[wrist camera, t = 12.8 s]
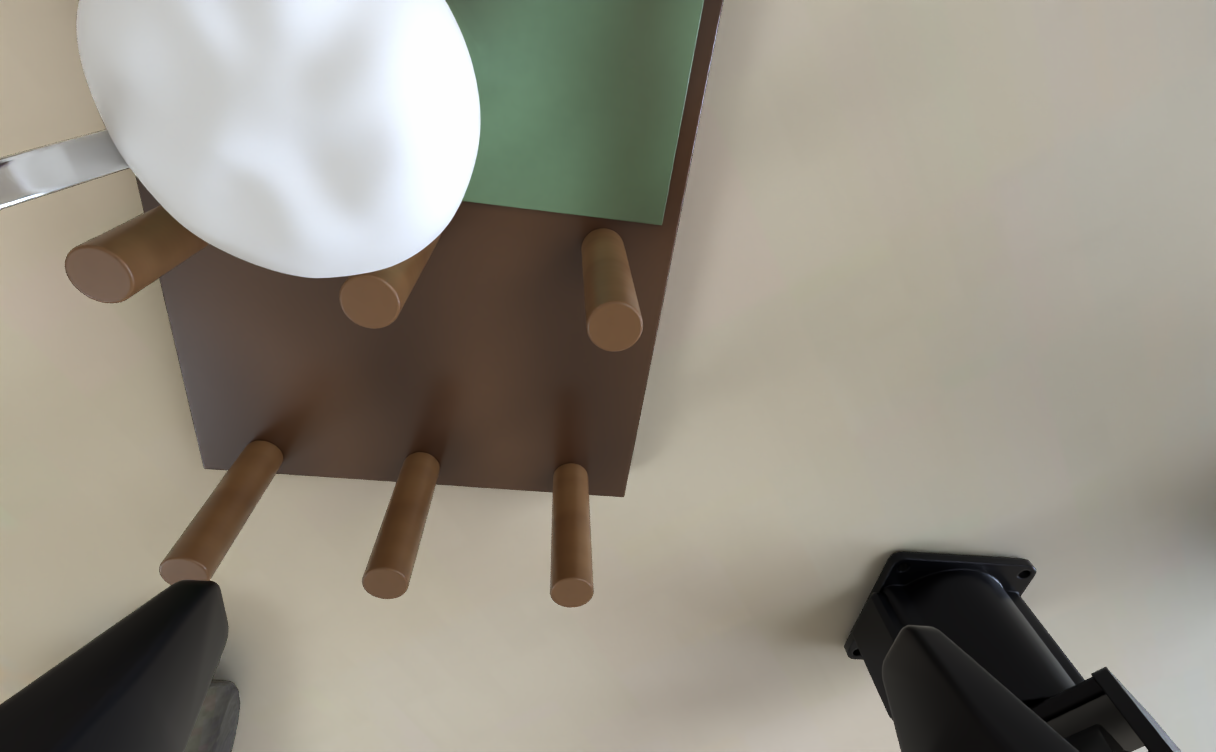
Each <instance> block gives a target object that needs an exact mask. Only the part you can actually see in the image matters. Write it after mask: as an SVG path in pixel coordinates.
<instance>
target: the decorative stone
mask: <svg viewBox="0 0 1216 752" xmlns="http://www.w3.org/2000/svg"><path fill="white" fill-rule="evenodd" d="M239 710H240V700H239V691H238V689H237V687H236V686H235V684H234V683H233V682H230V681H220V680H216V681H211V683H210V686H209V689H208V691H207V694H206V696H205V699H204V701H203V704H202V707H201V709H200V712H199V714H198V717H197V719H196V722H195V725H194V727H193V730H192V732H191V735H190V737H189V740H188V742H187V745H186V748H185V750H184V752H231V751H232V747H233V743H234V739H235V735H236V729H237V724H238V717H239Z"/></svg>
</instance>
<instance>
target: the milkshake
mask: <svg viewBox="0 0 1216 752" xmlns="http://www.w3.org/2000/svg"><path fill="white" fill-rule="evenodd" d="M76 30H77V42H78V49H79V54H80V59H81V63H82V67H83V71H84V74H85V77H86V80H87V83H88V86H89V89H90V92H91V94H92V97H93V100H94V102H95V104H96V107H97V109H98V111H99V114H100V116H101V118H102V120H103V123H104V125H105V127H106V129H105V130H102V131H98V132H94V133H90V134H86V135H83V136H79V137H75V138H71V139H68V140H64V141H60V142H56V143H53V144H49V145H45V146H41V147H38V148H34V149H30V150H26V151H23V152H19V153H15V154H11V155H7V156H4V157H0V210H2V209H5V208H8V207H11V206H14V205H17V204H20V203H23V202H27V201H30V200H33V199H36V198H39V197H42V196H45V195H48V194H51V193H54V192H57V191H61V190H64V189H67V188H70V187H73V186H76V185H79V184H82V183H85V182H88V181H91V180H94V179H98V178H101V177H104V176H107V175H110V174H113V173H116V172H119V171H122V170H125V169H128V168H131V170H132V171H133V172H134V174H135V175H136V176H137V178H138V179H139V180H140V181H141V183H142V184H143V185H144V186H145V187H146V189H147V190H148V191H149V192H150V193H151V194H152V196H153V197H154V198H155V199H156V200H157V201H158V202H159V203H160V204H161V205H162V207H163V208H164V209H165V210H166V211H167V212H168V213H169V214H170V215H171V216H172V217H173V218H175V219H176V220H177V221H178V222H179V223H180V224H181V225H183V226H184V227H185V228H186V229H188V230H189V231H190V232H192V233H193V234H195V235H196V236H198V237H199V238H201V239H202V240H204V241H206V242H207V243H209V244H211V245H213V246H215V247H217V248H218V249H220V250H223V251H225V252H227V253H229V254H231V255H233V256H235V257H238V258H240V259H242V260H245V261H247V262H250V263H252V264H255V265H258V266H261V267H264V268H267V269H270V270H273V271H277V272H281V273H285V274H289V275H294V276H300V277H307V278H331V277H342V276H351V275H357V274H363V273H369V272H374V271H378V270H382V269H385V268H388V267H391V266H394V265H396V264H398V263H401V262H403V261H405V260H407V259H408V258H410V257H412V256H413V255H415V254H417V253H418V252H420V251H421V250H422V249H424V248H425V247H426V246H428V245H429V244H430V243H431V242H432V241H433V240H435V239H436V238H437V237H438V236H439V235H440V234H441V232H442V231H443V230H444V229H445V228H446V227H447V225H448V224H449V223H450V221H451V220H452V218H453V216H454V215H455V213H456V211H457V209H458V208H459V206H460V204H461V202H462V199H463V197H464V194H465V192H466V189H467V187H468V184H469V181H470V178H471V175H472V172H473V169H474V165H475V161H476V157H477V152H478V146H479V138H480V127H481V118H482V115H483V111H484V107H485V103H486V100H487V96H488V92H489V39H488V38H487V36H486V35H485V33H484V31H483V30H482V28H481V26H480V25H479V23H478V22H477V20H476V18H475V17H474V15H473V13H472V12H471V10H470V8H469V7H468V5H467V3H466V2H465V0H79V4H78V10H77V20H76Z"/></svg>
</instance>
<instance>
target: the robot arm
mask: <svg viewBox="0 0 1216 752" xmlns="http://www.w3.org/2000/svg"><path fill="white" fill-rule="evenodd" d="M1035 574H1036V569H1035V567H1034V566H1033V565H1032V564H1031V563H1030V561H1028V560H1026V559H1018V558H1001V557H984V556H968V555H951V554H935V553H918V552H897V553H895V554H893V555H891V556H890V557H889V559H888V560H887V562H886V564H885V566H884V568H883V570H882V572H881V574H880V576H879V578H878V580H877V582H876V584H875V586H874V588H873V589H872V591H871V593H870V595H869V597H868V599H867V601H866V603H865V605H864V607H863V609H862V611H861V613H860V615H859V617H858V619H857V621H856V623H855V625H854V627H853V629H852V631H851V633H850V635H849V636H848V638H847V640H846V642H845V645H844V648H845V650H846V653H847V655H848V657H849V658H851V659H863V660H864V662H865V664H866V666H867V669H868V671H869V673H870V675H871V677H872V680H873V682H874V684H875V686H876V688H877V691H878V693H879V695H880V697H881V699H882V702H883V704H884V706H885V708H886V710H887V712H888V715H889V716H890V718H891V719H892V720H893V722H894V725H895V729H896V733H897V737H898V741H899V745H900V749H901V752H1132V751H1134V750H1136V749H1138V748H1141V747H1143V746H1145V747H1146V748H1147V749H1148V752H1181V750H1180V749H1179V748H1178V747H1177V746H1176V744H1175V743H1174V742H1173V741H1172V740H1171V739H1170V737H1169V736H1168V735H1167V734H1166V733H1165V731H1164V730H1163V729H1162V728H1161V727H1160V725H1159V724H1158V723H1157V722H1156V721H1155V719H1154V718H1153V717H1152V716H1151V715H1150V714H1149V713H1148V712H1147V711H1146V709H1145V708H1144V707H1143V706H1142V705H1141V704H1140V703H1139V702H1138V701H1137V700H1136V699H1135V698H1134V697H1133V695H1132V694H1131V693H1130V692H1129V691H1128V690H1127V689H1126V688H1125V687H1124V686H1123V685H1122V684H1121V683H1120V681H1119V680H1118V679H1117V678H1116V677H1115V676H1114V675H1113V674H1112V673H1111V672H1110V671H1109V670H1108V669H1107V667H1104V668H1102V669H1100V670H1098V671H1096V672H1094V673H1092V674H1091V675H1092V676H1093V677H1091V678H1089V679H1087V680H1084V678H1083V677H1082V676H1081V675H1080V673H1079V672H1078V671H1077V669H1076V668H1075V667H1074V665H1073V664H1072V663H1071V662H1070V660H1069V659H1068V658H1067V656H1066V655H1065V654H1064V653H1063V651H1062V650H1061V649H1060V647H1059V646H1058V645H1057V643H1056V642H1055V641H1054V640H1053V638H1052V637H1051V636H1050V634H1049V633H1048V632H1047V630H1046V629H1045V628H1044V627H1043V625H1042V624H1041V623H1040V621H1039V620H1038V619H1037V617H1036V616H1035V615H1034V614H1033V612H1032V611H1031V610H1030V608H1029V607H1028V606H1027V604H1026V603H1025V602H1024V601H1023V599H1022V598H1021V597H1020V596H1021V595H1022V593H1023V592H1024V590H1025V589H1026V587H1027V586H1028V585H1029V583H1030V582H1031V580H1032V579H1033V577H1034V576H1035ZM227 637H228V620H227V616H226V612H225V607H224V603H223V598H222V594H221V590H220V587H219V585H218V584H217V583H215V582H213V581H203V580H181V581H178V582H176V583H174V584H172V585H171V586H169V587H168V588H167V589H165V590H164V591H162V592H161V593H159V594H158V595H157V596H155V597H154V598H152V599H151V600H149V601H148V602H146V603H145V604H144V605H142V606H141V607H139V608H138V609H136V610H135V611H134V612H132V613H131V614H129V615H128V616H126V617H125V618H124V619H122V620H121V621H119V622H118V623H116V624H115V625H114V626H112V627H111V628H109V629H108V630H106V631H105V632H104V633H102V634H101V635H99V636H98V637H96V638H95V639H94V640H92V641H91V642H89V643H88V644H86V645H85V646H84V647H82V648H81V649H79V650H78V651H76V652H75V653H74V654H72V655H71V656H69V657H68V658H66V659H65V660H64V661H62V662H61V663H59V664H58V665H56V666H55V667H53V668H52V669H51V670H49V671H48V672H46V673H45V674H43V675H42V676H41V677H39V678H38V679H36V680H35V681H33V682H32V683H31V684H29V685H28V686H26V687H25V688H23V689H22V690H21V691H19V692H18V693H16V694H15V695H13V696H12V697H11V698H9V699H8V700H6V701H5V702H3V703H2V704H1V705H0V752H184V750H185V748H186V745H187V742H188V740H189V737H190V735H191V732H192V730H193V727H194V725H195V722H196V719H197V717H198V714H199V712H200V709H201V707H202V704H203V701H204V699H205V696H206V694H207V691H208V689H209V686H210V683H211V681H212V678H213V676H214V673H215V671H216V668H217V665H218V663H219V660H220V658H221V655H222V653H223V650H224V647H225V645H226V641H227Z"/></svg>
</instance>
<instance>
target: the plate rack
mask: <svg viewBox="0 0 1216 752" xmlns="http://www.w3.org/2000/svg"><path fill="white" fill-rule="evenodd" d="M723 1H724V0H465V2H466V3H467V5H468V7H469V8H470V10H471V12H472V13H473V15H474V17H475V18H476V20H477V22H478V23H479V25H480V26H481V28H482V30H483V31H484V33H485V35H486V36H487V38H488V39H489V92H488V96H487V100H486V103H485V107H484V111H483V115H482V118H481V127H480V138H479V146H478V152H477V157H476V161H475V165H474V169H473V172H472V175H471V178H470V181H469V184H468V187H467V189H466V192H465V194H464V197H463V199H462V202H461V204H460V206H459V208H458V209H457V211H456V213H455V215H454V216H453V218H452V220H451V221H450V223H449V224H448V225H447V227H446V228H445V229H444V230H443V231H442V232H441V234H440V235H439V236H438V237H437V238H436V239H435V240H433V241H432V242H431V243H430V244H429V245H428V246H426V247H425V248H424V249H422V250H421V251H420V252H418V253H417V254H415V255H413V256H412V257H410V258H408V259H407V260H405V261H403V262H401V263H398V264H396V265H394V266H391V267H388V268H385V269H382V270H378V271H374V272H369V273H363V274H357V275H351V276H342V277H331V278H307V277H300V276H294V275H289V274H285V273H281V272H277V271H273V270H270V269H267V268H264V267H261V266H258V265H255V264H252V263H250V262H247V261H245V260H242V259H240V258H238V257H235V256H233V255H231V254H229V253H227V252H225V251H223V250H220V249H218V248H217V247H215V246H213V245H211V244H209V243H207V242H206V241H204V240H202V239H201V238H199V237H198V236H196V235H195V234H193V233H192V232H190V231H189V230H188V229H186V228H185V227H184V226H183V225H181V224H180V223H179V222H178V221H177V220H176V219H175V218H173V217H172V216H171V215H170V214H169V213H168V212H167V211H166V210H165V209H164V208H163V207H162V205H161V204H160V203H159V202H158V201H157V200H156V199H155V198H154V197H153V196H152V194H151V193H150V192H149V191H148V190H147V189H146V187H145V186H144V185H143V184H142V183H141V181H140V180H139V179H138V178H137V176H136V175H135V176H136V180H137V184H138V189H139V193H140V197H141V201H142V206H143V210H144V213H143V214H141V215H139V216H137V217H135V218H133V219H131V220H129V221H127V222H125V223H123V224H121V225H119V226H117V227H115V228H113V229H111V230H109V231H107V232H105V233H103V234H101V235H99V236H97V237H95V238H93V239H91V240H88V241H86V242H84V243H82V244H80V245H78V246H76V247H75V248H73V249H72V250H71V251H70V252H69V253H68V255H67V257H66V260H65V270H66V273H67V276H68V278H69V280H70V281H71V282H72V284H73V285H74V286H75V287H76V288H77V289H78V290H79V291H80V292H81V293H83V294H84V295H86V296H88V297H89V298H91V299H94V300H96V301H99V302H104V303H119V302H122V301H125V300H127V299H128V298H130V297H131V296H133V295H134V294H136V293H137V292H139V291H140V290H142V289H143V288H145V287H146V286H148V285H149V284H151V283H152V282H154V281H155V280H157V279H158V278H160V283H161V287H162V291H163V296H164V300H165V304H166V308H167V313H168V317H169V321H170V325H171V330H172V334H173V338H174V343H175V347H176V351H177V355H178V360H179V364H180V368H181V373H182V377H183V381H184V385H185V390H186V394H187V398H188V403H189V407H190V411H191V415H192V420H193V424H194V428H195V432H196V437H197V441H198V445H199V450H200V454H201V458H202V462H203V467H204V469H216V470H228V472H227V473H226V474H225V476H224V477H223V479H222V480H221V481H220V483H219V484H218V485H217V487H216V488H215V490H214V491H213V492H212V494H211V495H210V497H209V498H208V499H207V501H206V502H205V503H204V505H203V506H202V508H201V509H200V510H199V512H198V513H197V514H196V516H195V517H194V519H193V520H192V521H191V523H190V524H189V525H188V527H187V528H186V530H185V531H184V532H183V534H182V535H181V537H180V538H179V539H178V541H177V542H176V543H175V545H174V546H173V548H172V549H171V550H170V552H169V553H168V554H167V556H166V557H165V559H164V560H163V561H162V563H161V564H160V568H159V572H160V575H161V577H162V578H163V579H164V580H165V581H166V582H167V583H169V584H170V585H172V584H174V583H176V582H178V581H181V580H203V581H210V579H211V578H212V576H213V574H214V573H215V571H216V569H217V568H218V566H219V565H220V563H221V561H222V560H223V558H224V556H225V555H226V553H227V552H228V550H229V548H230V547H231V545H232V544H233V542H234V540H235V539H236V537H237V535H238V534H239V532H240V531H241V529H242V527H243V526H244V524H245V523H246V521H247V519H248V518H249V516H250V514H251V513H252V511H253V510H254V508H255V506H256V505H257V503H258V502H259V500H260V498H261V497H262V495H263V493H264V492H265V490H266V489H267V487H268V485H269V484H270V482H271V481H272V479H273V477H274V476H275V474H289V475H304V476H319V477H334V478H348V479H363V480H378V481H393V482H396V485H395V488H394V491H393V493H392V496H391V499H390V502H389V505H388V508H387V510H386V513H385V516H384V519H383V522H382V525H381V527H380V530H379V533H378V536H377V539H376V541H375V544H374V547H373V550H372V553H371V556H370V558H369V561H368V564H367V567H366V570H365V573H364V575H363V578H362V583H363V587H364V589H365V590H366V591H367V592H368V593H369V594H371V595H373V596H375V597H378V598H382V599H393V598H397V597H399V596H401V595H403V594H404V593H405V592H406V590H407V589H408V586H409V582H410V578H411V575H412V571H413V567H414V563H415V560H416V556H417V552H418V549H419V545H420V541H421V538H422V534H423V530H424V526H425V523H426V519H427V515H428V512H429V508H430V504H431V501H432V497H433V493H434V489H435V486H436V484H437V485H451V486H466V487H481V488H496V489H510V490H525V491H540V492H553V501H552V540H551V579H550V595H551V598H552V599H553V601H554V602H555V603H557V604H558V605H561V606H564V607H578V606H582V605H584V604H586V603H587V602H588V601H589V600H590V599H591V598H592V596H593V592H594V590H593V569H592V548H591V528H590V507H589V495H599V496H614V497H624V495H625V490H626V485H627V480H628V475H629V470H630V465H631V460H632V455H633V450H634V445H635V440H636V435H637V430H638V425H639V420H640V415H641V410H642V405H643V400H644V395H645V390H646V385H647V380H648V375H649V370H650V365H651V360H652V355H653V350H654V345H655V340H656V335H657V330H658V325H659V320H660V315H661V310H662V305H663V300H664V295H665V290H666V285H667V280H668V275H669V270H670V265H671V260H672V255H673V250H674V245H675V240H676V235H677V230H678V225H679V220H680V215H681V210H682V205H683V200H684V195H685V190H686V185H687V180H688V175H689V170H690V165H691V160H692V155H693V150H694V145H695V140H696V135H697V130H698V125H699V120H700V115H701V110H702V105H703V100H704V96H705V91H706V86H707V81H708V76H709V71H710V66H711V61H712V56H713V51H714V46H715V41H716V36H717V31H718V26H719V21H720V16H721V11H722V6H723Z"/></svg>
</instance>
